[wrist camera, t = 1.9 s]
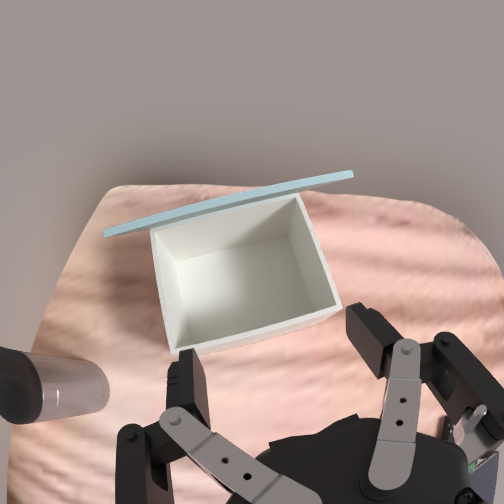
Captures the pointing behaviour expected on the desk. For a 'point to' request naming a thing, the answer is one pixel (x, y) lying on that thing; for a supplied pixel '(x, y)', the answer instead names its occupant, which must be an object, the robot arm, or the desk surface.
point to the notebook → (485, 477)
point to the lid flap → (225, 203)
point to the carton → (241, 276)
